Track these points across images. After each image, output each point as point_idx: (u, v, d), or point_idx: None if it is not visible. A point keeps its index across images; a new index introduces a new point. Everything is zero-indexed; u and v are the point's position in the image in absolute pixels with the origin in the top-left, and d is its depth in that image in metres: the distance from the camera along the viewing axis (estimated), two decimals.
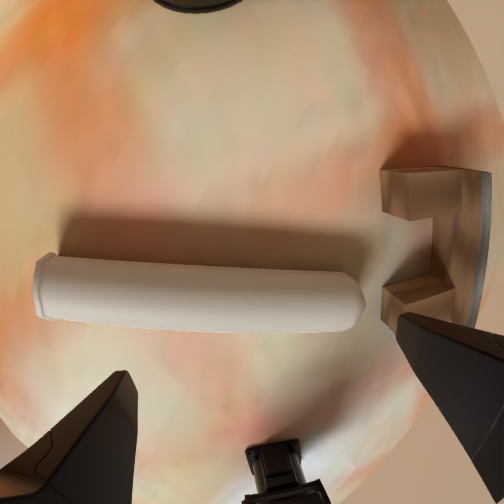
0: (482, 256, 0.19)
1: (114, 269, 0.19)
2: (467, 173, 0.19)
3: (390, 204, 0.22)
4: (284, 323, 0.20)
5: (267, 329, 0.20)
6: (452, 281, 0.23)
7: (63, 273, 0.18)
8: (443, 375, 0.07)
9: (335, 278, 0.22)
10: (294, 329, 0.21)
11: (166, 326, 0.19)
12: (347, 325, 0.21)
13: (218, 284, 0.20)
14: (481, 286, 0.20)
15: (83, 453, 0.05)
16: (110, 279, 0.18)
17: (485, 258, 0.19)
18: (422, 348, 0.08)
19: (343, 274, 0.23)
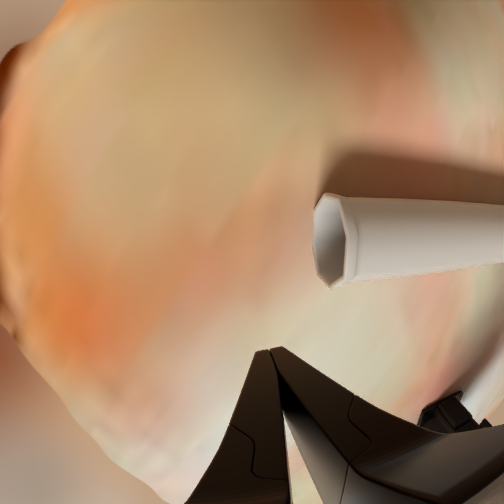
0: None
1: (430, 203, 0.15)
2: None
3: None
4: None
5: None
6: None
7: (381, 211, 0.15)
8: (298, 428, 0.06)
9: None
10: None
11: (472, 260, 0.16)
12: None
13: (496, 214, 0.16)
14: None
15: None
16: (432, 214, 0.15)
17: None
18: (282, 392, 0.07)
19: None
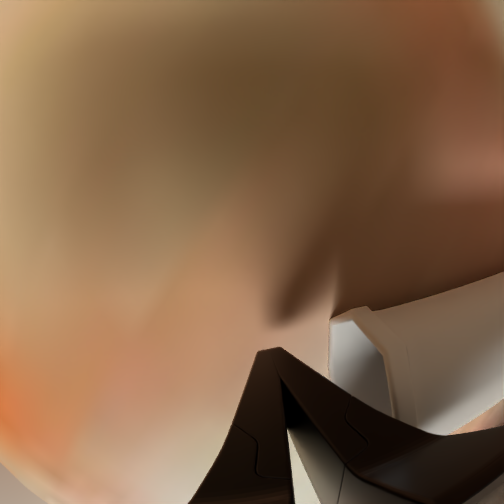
0: None
1: None
2: None
3: None
4: None
5: None
6: None
7: (460, 347, 0.06)
8: (295, 429, 0.06)
9: None
10: None
11: None
12: None
13: None
14: None
15: None
16: None
17: None
18: None
19: None
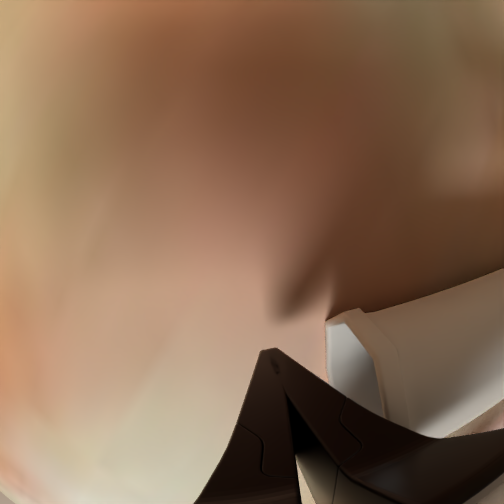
0: None
1: None
2: None
3: None
4: None
5: None
6: None
7: (455, 349, 0.06)
8: None
9: None
10: None
11: None
12: None
13: None
14: None
15: None
16: None
17: None
18: None
19: None
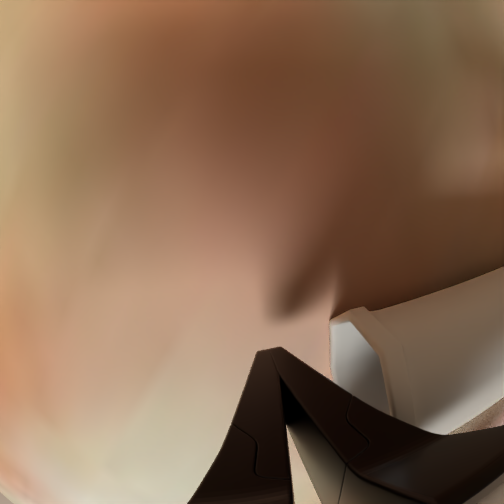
0: None
1: None
2: None
3: None
4: None
5: None
6: None
7: (458, 346, 0.06)
8: (296, 429, 0.06)
9: None
10: None
11: None
12: None
13: None
14: None
15: None
16: None
17: None
18: None
19: None
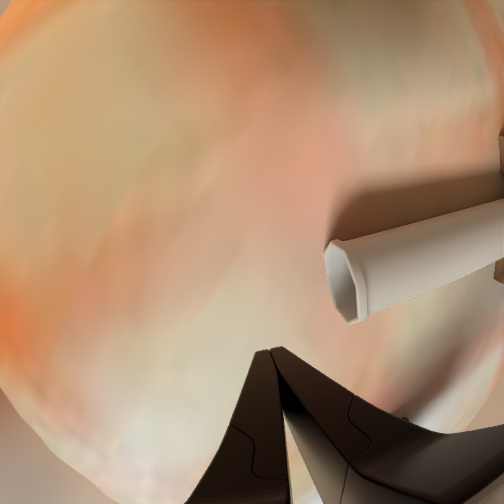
0: None
1: (431, 229, 0.16)
2: None
3: None
4: None
5: None
6: None
7: (385, 252, 0.16)
8: (298, 428, 0.06)
9: None
10: None
11: (477, 268, 0.17)
12: None
13: (496, 217, 0.17)
14: None
15: None
16: (433, 240, 0.16)
17: None
18: (282, 392, 0.07)
19: None
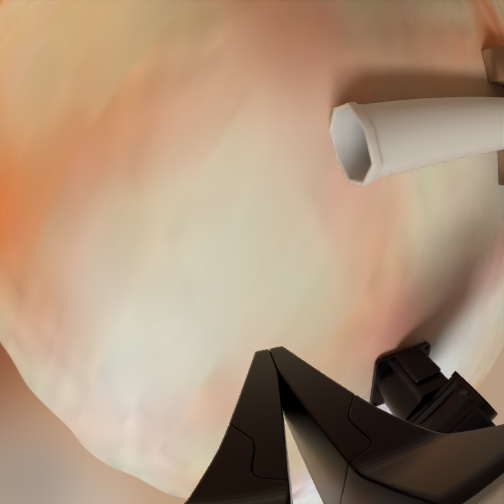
0: None
1: (425, 98, 0.16)
2: None
3: (496, 73, 0.17)
4: None
5: None
6: None
7: (386, 108, 0.15)
8: (298, 428, 0.06)
9: None
10: None
11: (479, 141, 0.16)
12: None
13: (487, 102, 0.16)
14: None
15: None
16: (430, 105, 0.15)
17: None
18: (282, 392, 0.07)
19: None
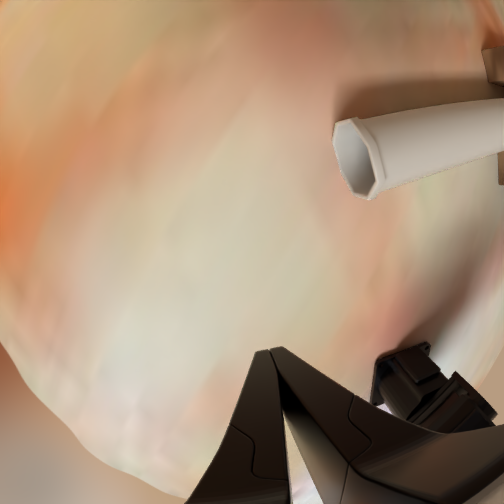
0: None
1: None
2: None
3: (496, 73, 0.17)
4: None
5: None
6: None
7: (388, 121, 0.15)
8: (298, 428, 0.06)
9: None
10: None
11: (480, 146, 0.16)
12: None
13: (487, 105, 0.16)
14: None
15: None
16: (431, 114, 0.15)
17: None
18: (282, 392, 0.07)
19: None
